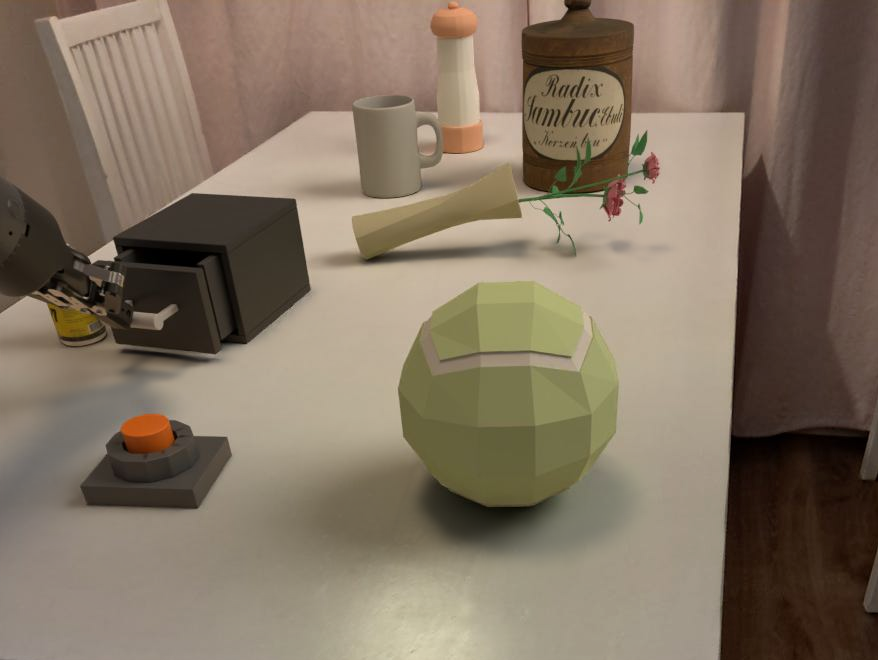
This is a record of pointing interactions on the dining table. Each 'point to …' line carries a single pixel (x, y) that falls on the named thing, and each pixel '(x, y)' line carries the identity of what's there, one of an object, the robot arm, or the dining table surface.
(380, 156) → the mug
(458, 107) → the pepper shaker
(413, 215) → the flower vase
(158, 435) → the button
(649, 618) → the dining table surface
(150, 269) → the drawer
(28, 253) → the robot arm
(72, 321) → the supplement bottle
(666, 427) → the dining table surface
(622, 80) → the wooden container
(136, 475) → the control block
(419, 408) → the tennis ball
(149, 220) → the black cabinet
